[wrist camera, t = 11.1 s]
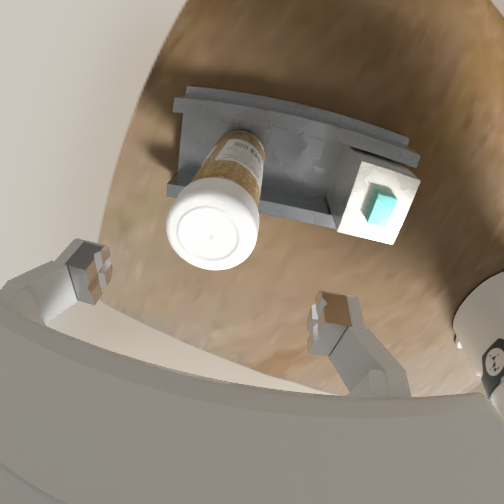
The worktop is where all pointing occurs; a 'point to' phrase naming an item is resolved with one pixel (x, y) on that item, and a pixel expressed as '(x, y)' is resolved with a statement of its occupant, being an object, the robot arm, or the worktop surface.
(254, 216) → the sprinkles bottle
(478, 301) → the robot arm
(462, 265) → the worktop surface
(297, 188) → the rail
